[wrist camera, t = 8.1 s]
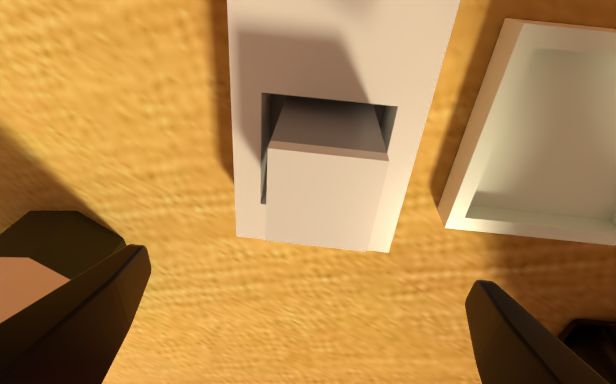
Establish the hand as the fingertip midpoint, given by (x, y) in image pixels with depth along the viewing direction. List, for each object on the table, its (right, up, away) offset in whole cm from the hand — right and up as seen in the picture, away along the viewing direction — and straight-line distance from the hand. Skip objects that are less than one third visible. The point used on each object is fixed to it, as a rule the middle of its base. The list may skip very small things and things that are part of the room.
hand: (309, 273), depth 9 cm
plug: (+1, +5, +8) cm, 9 cm away
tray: (+13, +5, +8) cm, 16 cm away
